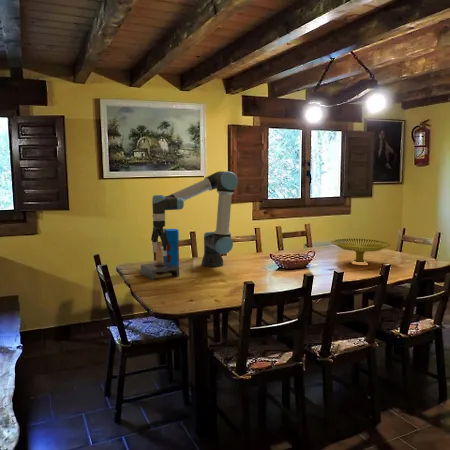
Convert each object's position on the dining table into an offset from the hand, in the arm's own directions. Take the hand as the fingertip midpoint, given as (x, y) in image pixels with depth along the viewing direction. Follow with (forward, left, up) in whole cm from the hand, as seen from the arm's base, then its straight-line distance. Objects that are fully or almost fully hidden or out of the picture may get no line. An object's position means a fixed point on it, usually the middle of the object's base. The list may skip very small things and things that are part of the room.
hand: (159, 254), depth 277 cm
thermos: (-18, -21, -14) cm, 31 cm away
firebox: (0, 0, -14) cm, 14 cm away
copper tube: (0, 0, -14) cm, 14 cm away
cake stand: (-134, +43, -14) cm, 141 cm away
